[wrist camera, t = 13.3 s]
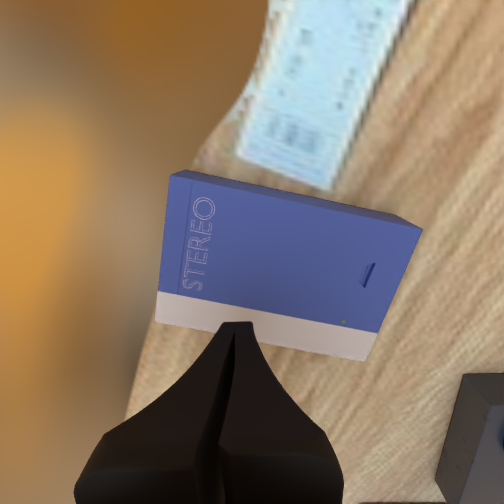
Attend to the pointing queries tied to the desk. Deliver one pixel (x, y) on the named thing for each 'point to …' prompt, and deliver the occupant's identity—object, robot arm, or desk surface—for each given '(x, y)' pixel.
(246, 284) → the walkman
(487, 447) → the hot plate
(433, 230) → the desk surface
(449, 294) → the desk surface
